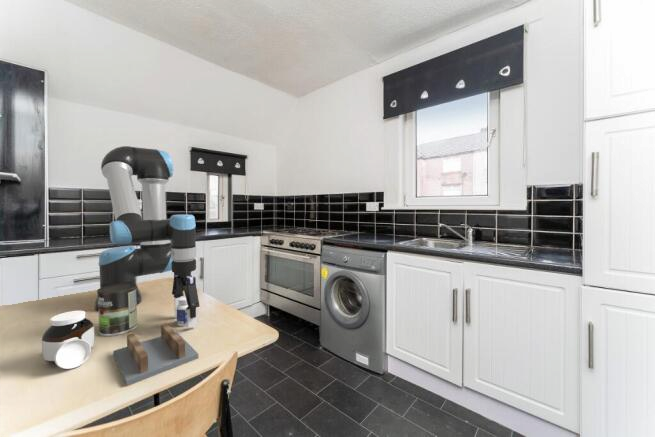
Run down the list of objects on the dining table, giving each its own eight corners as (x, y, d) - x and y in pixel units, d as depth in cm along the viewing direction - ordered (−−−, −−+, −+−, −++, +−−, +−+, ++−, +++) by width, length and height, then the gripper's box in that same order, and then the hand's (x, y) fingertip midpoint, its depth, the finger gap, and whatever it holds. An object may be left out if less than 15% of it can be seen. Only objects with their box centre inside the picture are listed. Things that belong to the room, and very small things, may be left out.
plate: (113, 355, 76) (113, 350, 76) (176, 335, 87) (176, 331, 87) (126, 386, 63) (126, 381, 63) (198, 358, 75) (198, 353, 75)
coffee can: (112, 338, 85) (110, 294, 84) (91, 333, 88) (89, 290, 87) (145, 324, 94) (143, 284, 93) (124, 320, 98) (123, 281, 97)
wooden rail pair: (127, 348, 77) (126, 334, 77) (166, 335, 84) (166, 323, 84) (140, 373, 66) (140, 357, 66) (185, 356, 73) (184, 342, 73)
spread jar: (76, 346, 80) (74, 307, 79) (111, 349, 79) (110, 309, 78) (27, 371, 68) (24, 326, 67) (68, 375, 67) (65, 329, 66)
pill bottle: (186, 327, 93) (186, 301, 92) (173, 325, 94) (172, 300, 93) (197, 320, 98) (196, 296, 97) (184, 319, 99) (183, 295, 98)
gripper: (161, 255, 100) (163, 313, 101) (184, 267, 83) (186, 336, 84) (183, 253, 105) (184, 308, 107) (209, 263, 88) (210, 328, 90)
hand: (185, 320), depth 96 cm, fingers open, 12 cm apart
